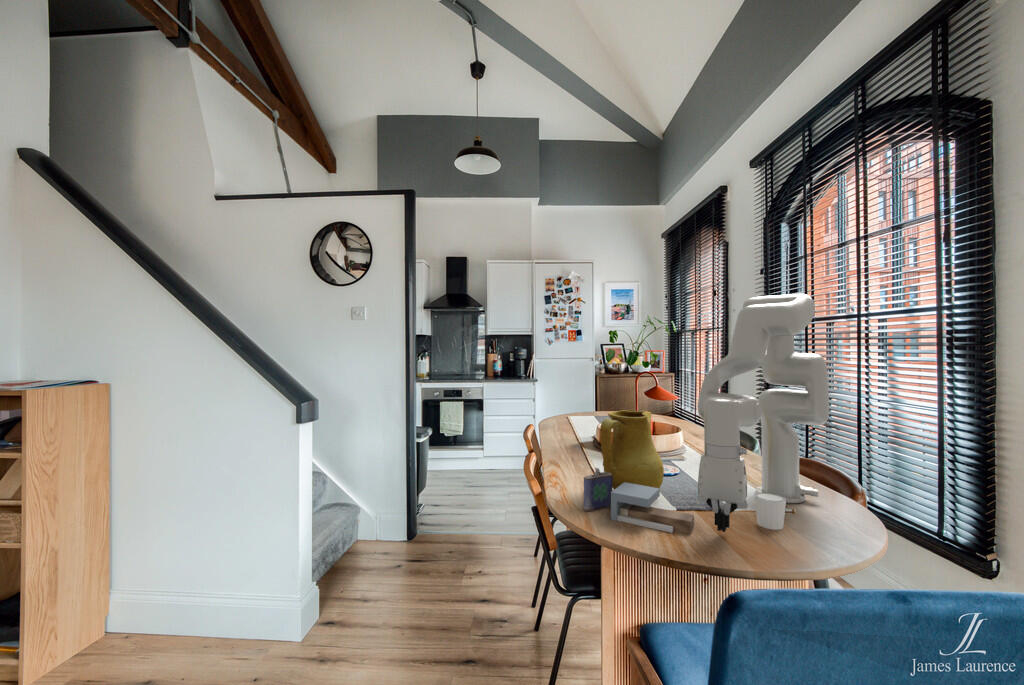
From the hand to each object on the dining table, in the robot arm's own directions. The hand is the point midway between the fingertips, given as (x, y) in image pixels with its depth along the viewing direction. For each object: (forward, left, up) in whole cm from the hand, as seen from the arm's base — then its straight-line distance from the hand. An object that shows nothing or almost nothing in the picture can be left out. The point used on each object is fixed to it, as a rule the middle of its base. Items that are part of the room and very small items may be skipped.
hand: (722, 529), depth 104 cm
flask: (+31, -1, -2) cm, 31 cm away
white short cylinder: (-9, -14, -2) cm, 16 cm away
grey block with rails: (+18, 0, -1) cm, 18 cm away
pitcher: (+27, -16, -2) cm, 31 cm away
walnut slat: (+15, +1, -2) cm, 15 cm away
